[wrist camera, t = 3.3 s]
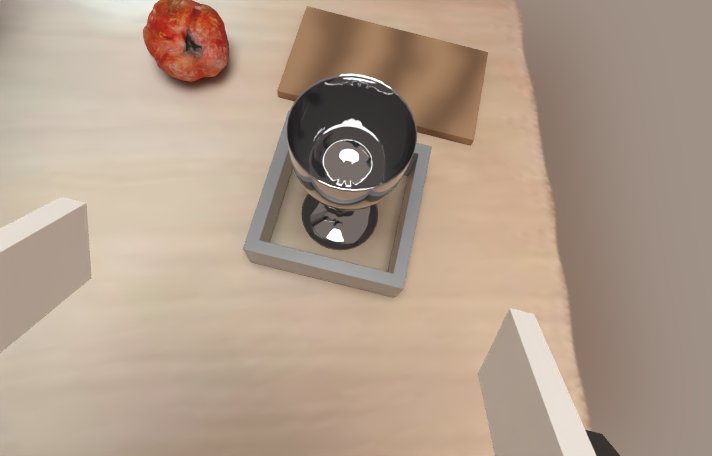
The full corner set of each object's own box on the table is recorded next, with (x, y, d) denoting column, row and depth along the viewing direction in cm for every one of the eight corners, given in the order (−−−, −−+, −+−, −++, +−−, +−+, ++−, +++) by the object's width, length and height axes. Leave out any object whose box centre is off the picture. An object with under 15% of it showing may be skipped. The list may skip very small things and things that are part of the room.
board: (278, 96, 43) (277, 90, 42) (307, 13, 47) (306, 6, 46) (470, 145, 44) (473, 140, 43) (484, 58, 47) (487, 52, 46)
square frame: (251, 262, 38) (242, 248, 34) (291, 136, 42) (288, 110, 38) (393, 297, 38) (403, 288, 34) (420, 168, 42) (431, 146, 38)
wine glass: (364, 164, 42) (388, 60, 28) (395, 238, 40) (438, 166, 26) (285, 188, 40) (268, 92, 26) (313, 266, 38) (311, 207, 24)
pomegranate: (159, 67, 46) (146, 96, 38) (143, -11, 42) (125, 3, 34) (231, 66, 48) (234, 93, 40) (222, -9, 44) (223, 4, 36)
